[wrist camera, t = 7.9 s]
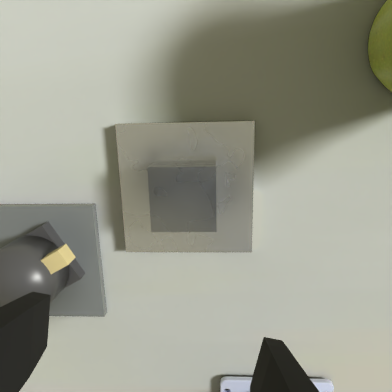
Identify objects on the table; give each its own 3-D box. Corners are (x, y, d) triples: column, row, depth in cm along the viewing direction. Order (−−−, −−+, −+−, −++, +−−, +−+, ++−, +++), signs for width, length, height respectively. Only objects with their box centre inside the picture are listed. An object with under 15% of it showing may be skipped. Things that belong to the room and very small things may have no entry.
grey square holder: (250, 247, 20) (256, 268, 18) (129, 246, 21) (115, 268, 18) (253, 120, 18) (260, 121, 16) (119, 123, 19) (102, 125, 16)
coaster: (106, 312, 22) (104, 316, 22) (-2, 310, 23) (-7, 314, 22) (95, 203, 20) (92, 205, 20) (-24, 204, 21) (-29, 206, 20)
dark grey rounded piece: (36, 301, 22) (0, 339, 18) (-3, 249, 21) (-49, 278, 17) (102, 265, 21) (78, 298, 17) (63, 210, 20) (29, 232, 16)
